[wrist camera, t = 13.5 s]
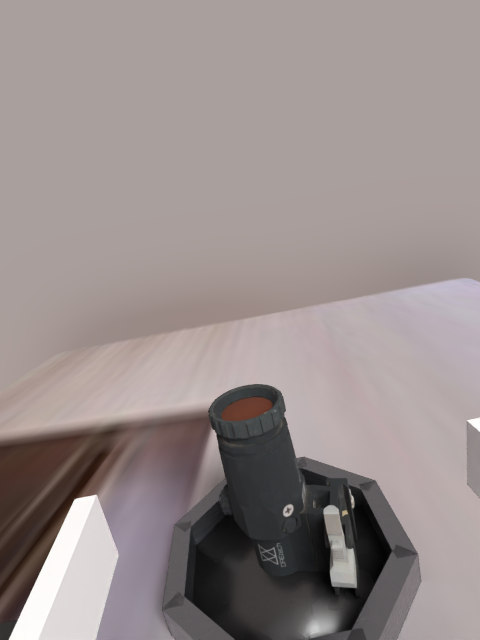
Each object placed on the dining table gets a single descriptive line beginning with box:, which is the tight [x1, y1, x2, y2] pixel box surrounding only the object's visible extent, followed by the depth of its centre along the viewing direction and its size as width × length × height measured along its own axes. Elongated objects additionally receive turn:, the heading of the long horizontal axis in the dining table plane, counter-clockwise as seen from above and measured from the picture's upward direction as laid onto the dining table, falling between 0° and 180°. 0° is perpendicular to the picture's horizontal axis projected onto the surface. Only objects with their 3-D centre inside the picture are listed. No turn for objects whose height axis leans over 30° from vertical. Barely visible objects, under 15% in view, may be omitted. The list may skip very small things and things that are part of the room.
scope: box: [208, 384, 361, 597], centre depth 29 cm, size 8×14×10 cm
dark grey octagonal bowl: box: [162, 457, 421, 640], centre depth 30 cm, size 18×18×2 cm
